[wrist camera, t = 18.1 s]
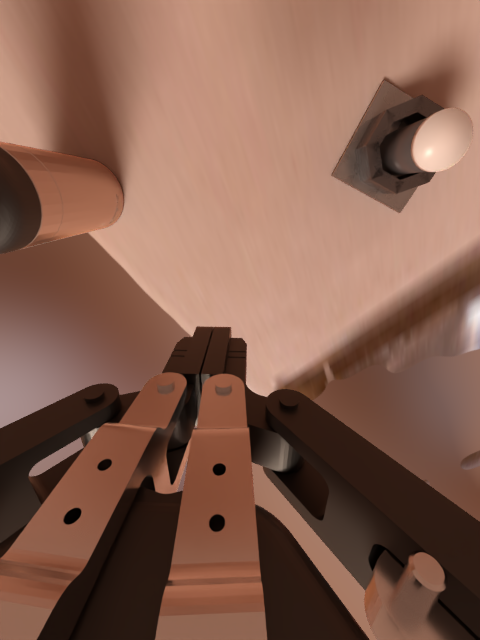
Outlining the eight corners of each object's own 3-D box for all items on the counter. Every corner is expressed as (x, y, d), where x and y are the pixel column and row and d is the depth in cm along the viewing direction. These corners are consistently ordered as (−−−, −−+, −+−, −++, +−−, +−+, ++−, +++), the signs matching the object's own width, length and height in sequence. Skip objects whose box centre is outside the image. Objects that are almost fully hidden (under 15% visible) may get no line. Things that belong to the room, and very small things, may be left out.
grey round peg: (366, 164, 36) (403, 156, 27) (391, 121, 34) (441, 96, 25) (398, 183, 37) (445, 181, 28) (425, 141, 35) (485, 124, 26)
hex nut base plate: (331, 175, 38) (341, 173, 33) (382, 81, 33) (400, 66, 29) (398, 212, 39) (415, 215, 35) (455, 127, 35) (482, 119, 31)
